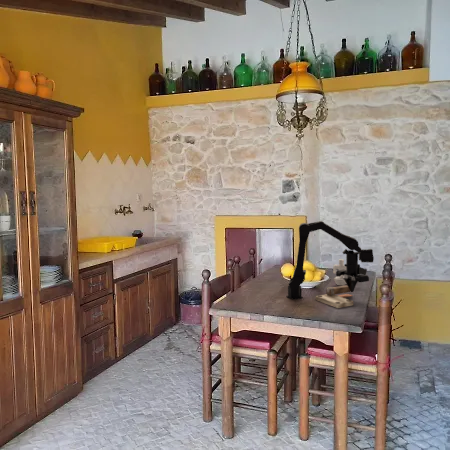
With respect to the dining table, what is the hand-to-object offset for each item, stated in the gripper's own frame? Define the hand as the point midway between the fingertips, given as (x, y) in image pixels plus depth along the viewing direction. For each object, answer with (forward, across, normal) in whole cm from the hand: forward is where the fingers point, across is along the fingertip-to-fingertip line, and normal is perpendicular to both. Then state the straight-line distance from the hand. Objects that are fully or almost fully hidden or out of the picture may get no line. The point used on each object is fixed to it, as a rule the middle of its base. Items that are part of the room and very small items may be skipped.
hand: (351, 292), depth 226 cm
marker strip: (+4, +6, +1) cm, 7 cm away
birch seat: (+4, 0, +12) cm, 13 cm away
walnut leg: (+1, +6, +4) cm, 7 cm away
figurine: (+4, +27, -16) cm, 32 cm away
